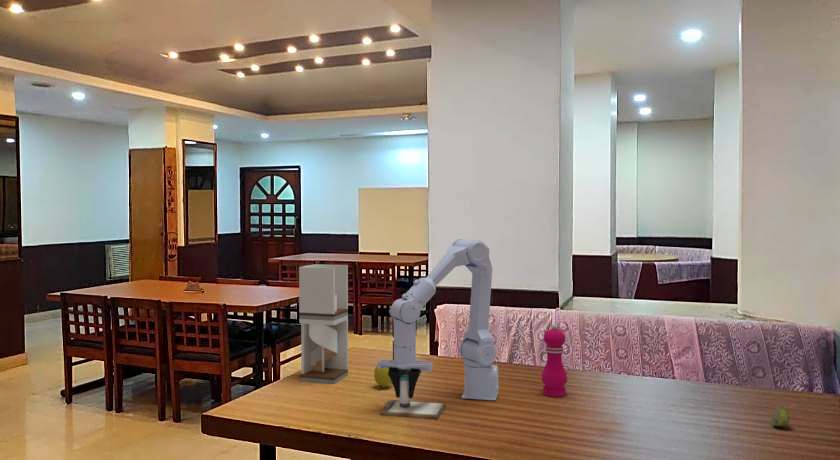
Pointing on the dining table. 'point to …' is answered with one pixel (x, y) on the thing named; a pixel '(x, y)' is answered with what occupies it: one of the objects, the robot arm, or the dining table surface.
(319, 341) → the white tiered tower model
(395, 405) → the clipboard
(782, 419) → the lime
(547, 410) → the dining table surface
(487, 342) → the robot arm
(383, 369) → the lemon
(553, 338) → the pepper mill
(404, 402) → the marker
